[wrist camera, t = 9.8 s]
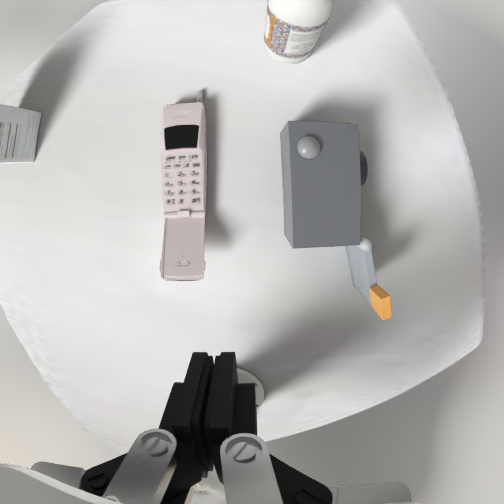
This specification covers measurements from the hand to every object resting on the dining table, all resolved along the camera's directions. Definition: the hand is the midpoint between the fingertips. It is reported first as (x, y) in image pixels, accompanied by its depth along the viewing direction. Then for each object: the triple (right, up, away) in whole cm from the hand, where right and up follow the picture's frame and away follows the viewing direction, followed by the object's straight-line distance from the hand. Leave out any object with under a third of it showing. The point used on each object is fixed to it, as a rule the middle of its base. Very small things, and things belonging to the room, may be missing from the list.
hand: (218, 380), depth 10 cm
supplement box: (-40, +26, +23) cm, 53 cm away
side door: (+16, +4, +29) cm, 33 cm away
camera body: (+10, +15, +26) cm, 32 cm away
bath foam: (+6, +35, +21) cm, 41 cm away
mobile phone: (-8, +15, +27) cm, 32 cm away
